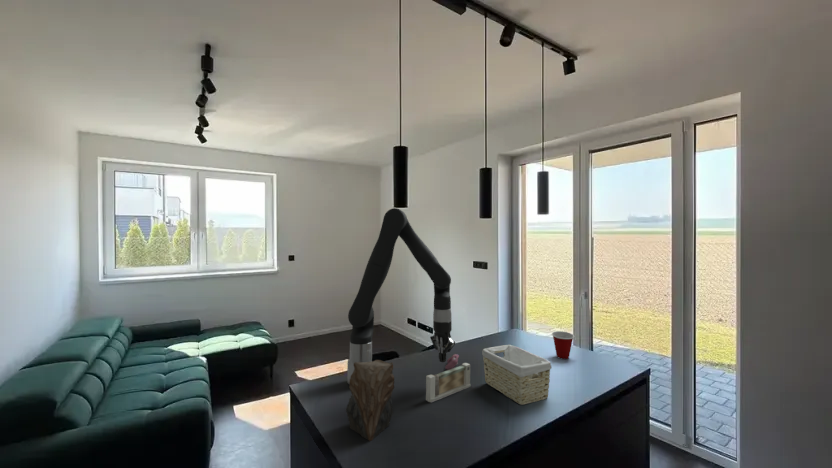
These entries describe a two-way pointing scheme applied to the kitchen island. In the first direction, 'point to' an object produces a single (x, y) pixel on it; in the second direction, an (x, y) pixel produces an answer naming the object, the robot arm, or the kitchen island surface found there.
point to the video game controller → (452, 362)
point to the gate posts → (431, 390)
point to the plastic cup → (562, 343)
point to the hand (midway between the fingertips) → (442, 361)
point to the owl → (370, 398)
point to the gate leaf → (449, 379)
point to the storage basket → (517, 373)
